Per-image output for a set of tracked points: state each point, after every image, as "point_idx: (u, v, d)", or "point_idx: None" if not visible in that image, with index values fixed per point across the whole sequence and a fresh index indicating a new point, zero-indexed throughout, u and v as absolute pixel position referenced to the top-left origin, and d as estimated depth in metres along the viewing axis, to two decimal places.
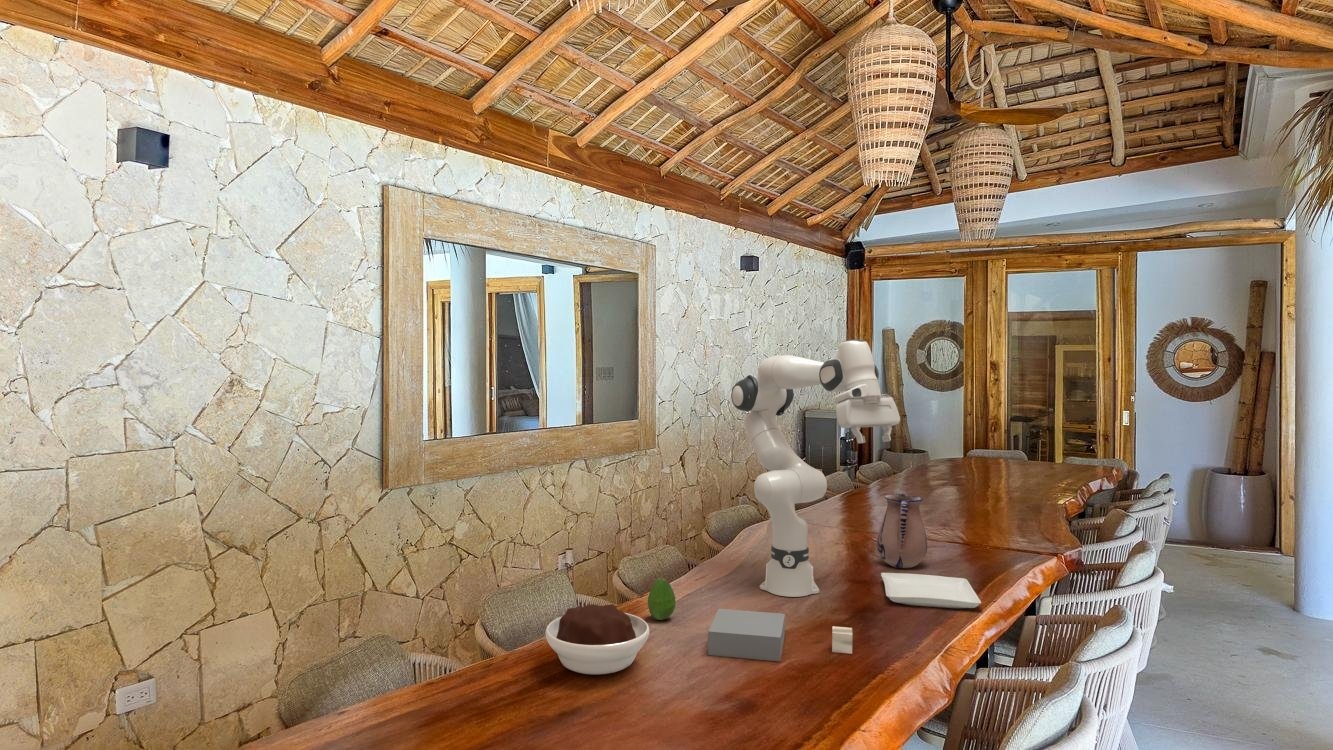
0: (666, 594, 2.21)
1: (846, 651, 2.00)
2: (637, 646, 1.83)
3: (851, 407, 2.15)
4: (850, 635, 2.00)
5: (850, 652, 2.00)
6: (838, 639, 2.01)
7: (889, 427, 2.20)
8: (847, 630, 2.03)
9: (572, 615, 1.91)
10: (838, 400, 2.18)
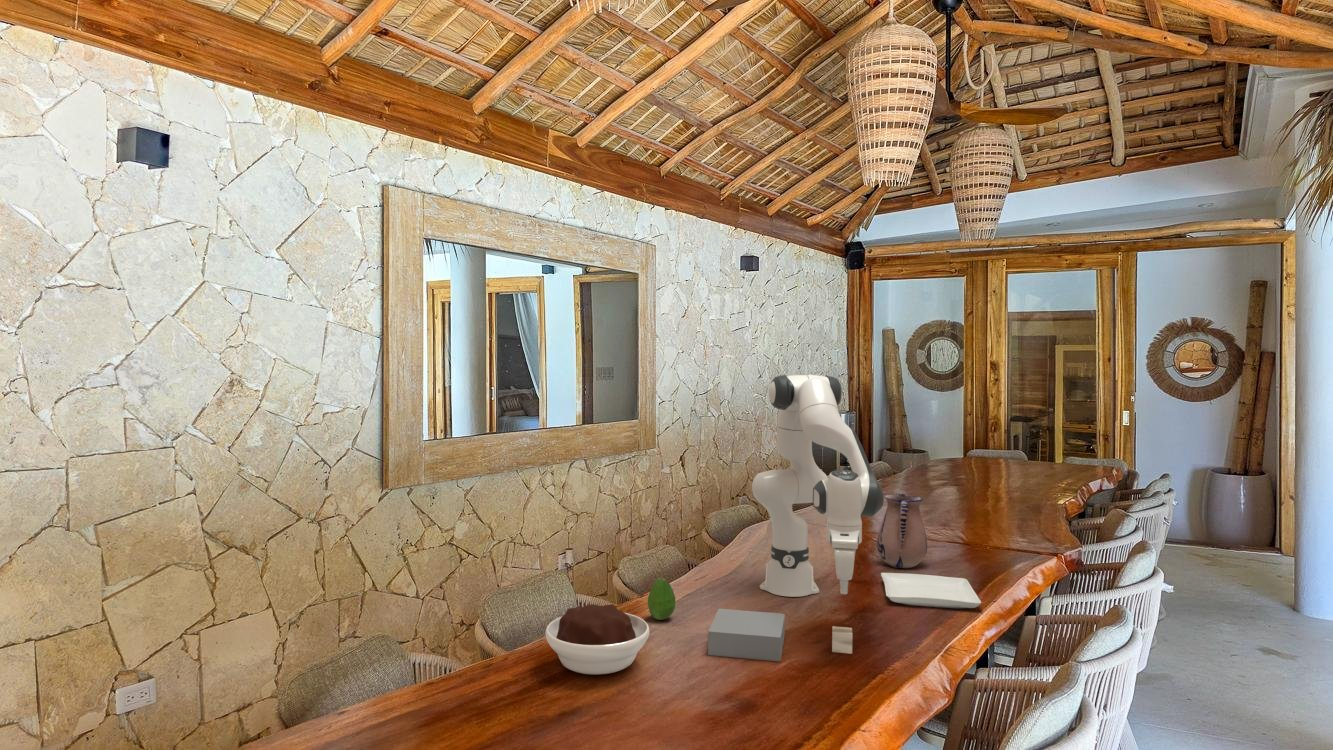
0: (666, 594, 2.21)
1: (846, 651, 2.00)
2: (637, 646, 1.83)
3: None
4: (850, 635, 2.00)
5: (850, 652, 2.00)
6: (838, 639, 2.01)
7: None
8: (847, 630, 2.03)
9: (572, 615, 1.91)
10: (838, 547, 1.94)
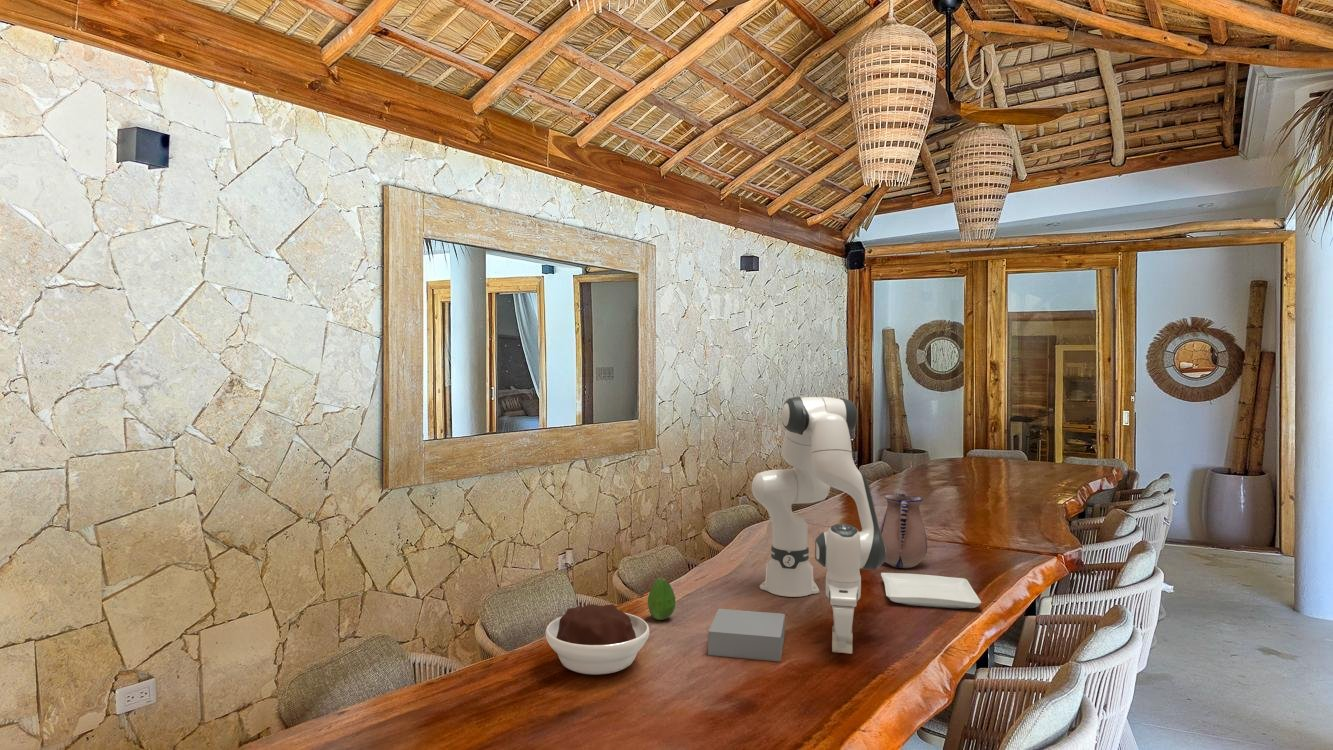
0: (666, 594, 2.21)
1: (846, 651, 2.00)
2: (637, 646, 1.83)
3: None
4: (850, 635, 2.00)
5: (850, 652, 2.00)
6: (838, 639, 2.01)
7: None
8: None
9: (572, 615, 1.91)
10: (837, 604, 1.95)
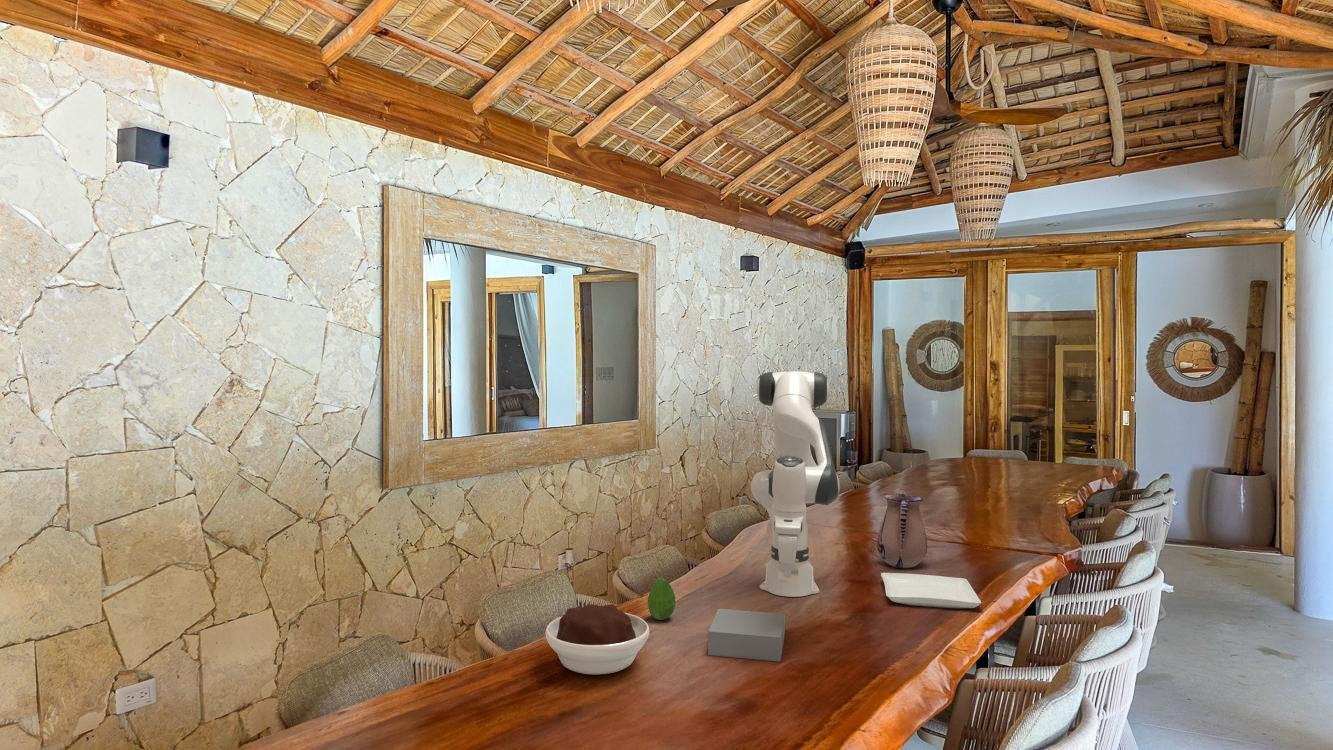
0: (666, 594, 2.21)
1: (792, 581, 2.01)
2: (637, 646, 1.83)
3: None
4: (796, 565, 2.01)
5: (796, 582, 2.01)
6: (783, 569, 2.01)
7: None
8: None
9: (572, 615, 1.91)
10: (781, 532, 1.95)
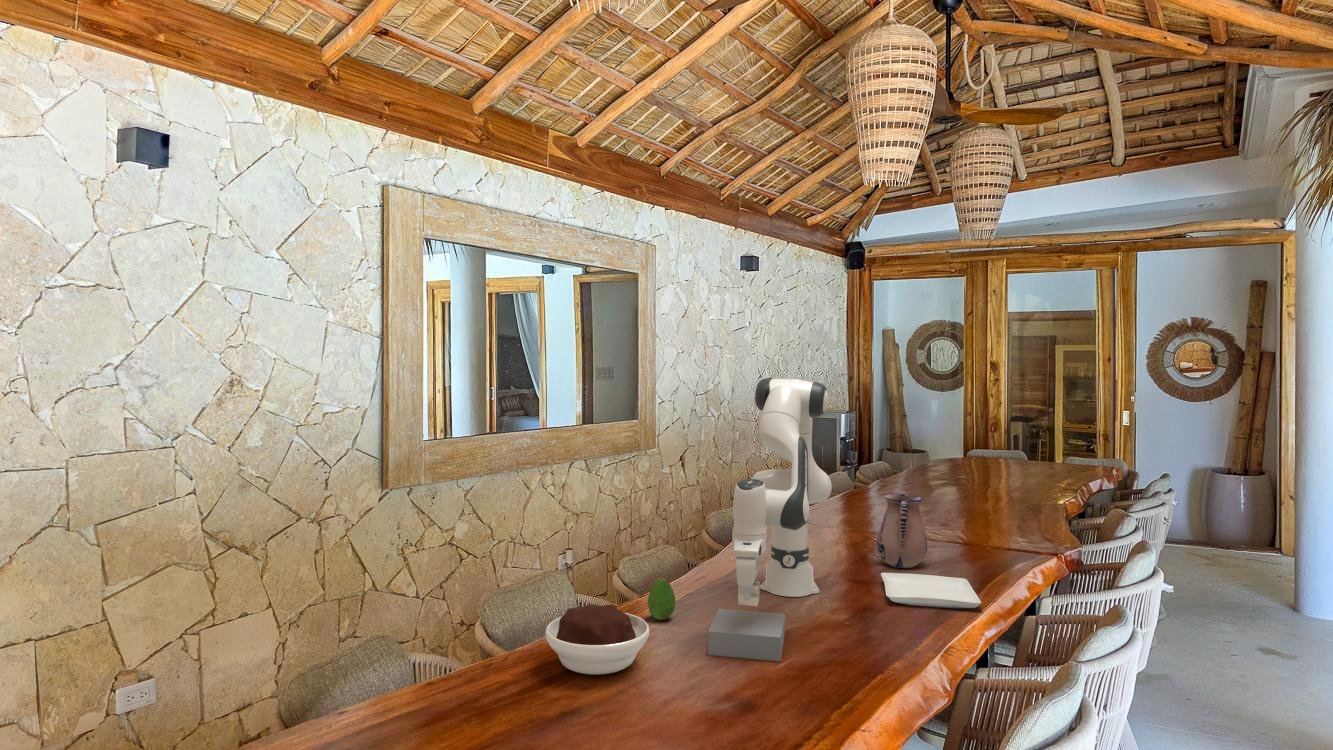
0: (666, 594, 2.21)
1: (752, 603, 2.02)
2: (637, 646, 1.83)
3: None
4: (755, 587, 2.02)
5: (755, 604, 2.02)
6: (743, 592, 2.02)
7: None
8: None
9: (572, 615, 1.91)
10: (740, 555, 1.96)
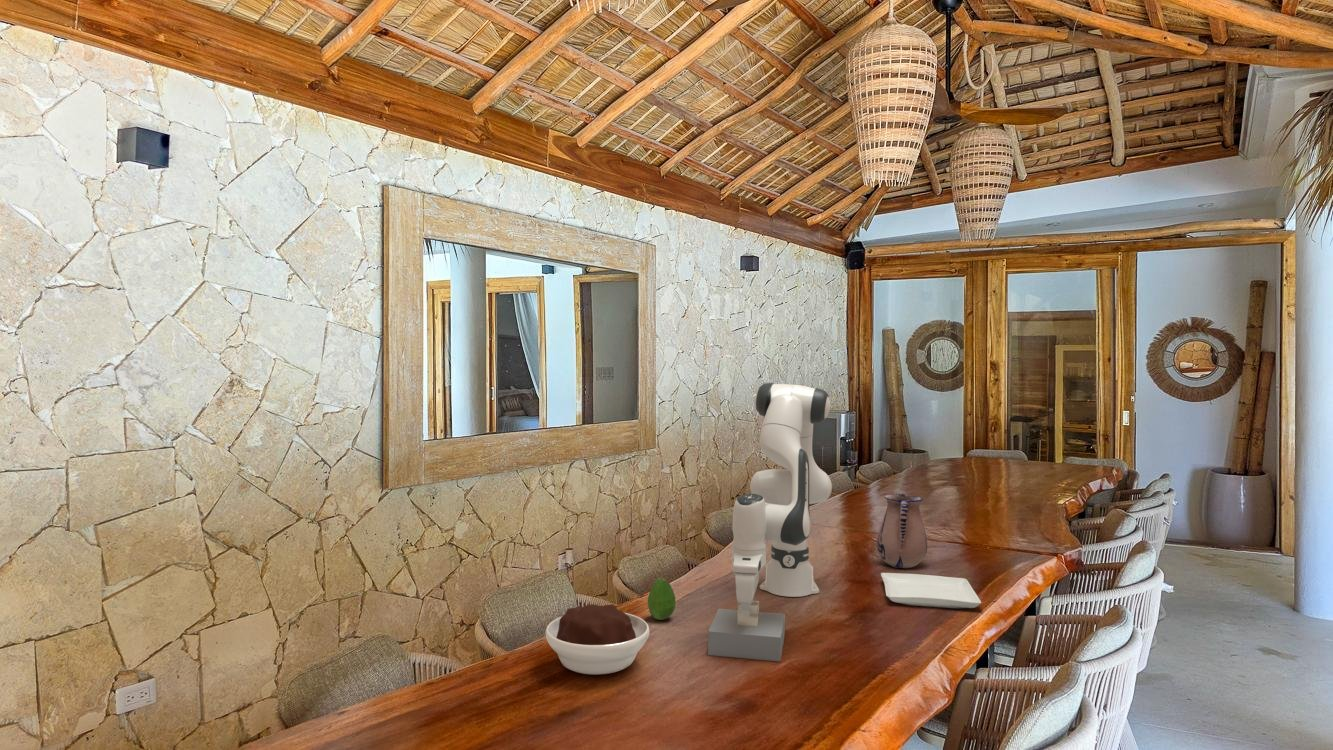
0: (666, 594, 2.21)
1: (751, 623, 2.02)
2: (637, 646, 1.83)
3: None
4: (755, 607, 2.02)
5: (755, 624, 2.02)
6: None
7: None
8: (753, 603, 2.05)
9: (572, 615, 1.91)
10: (739, 571, 1.96)
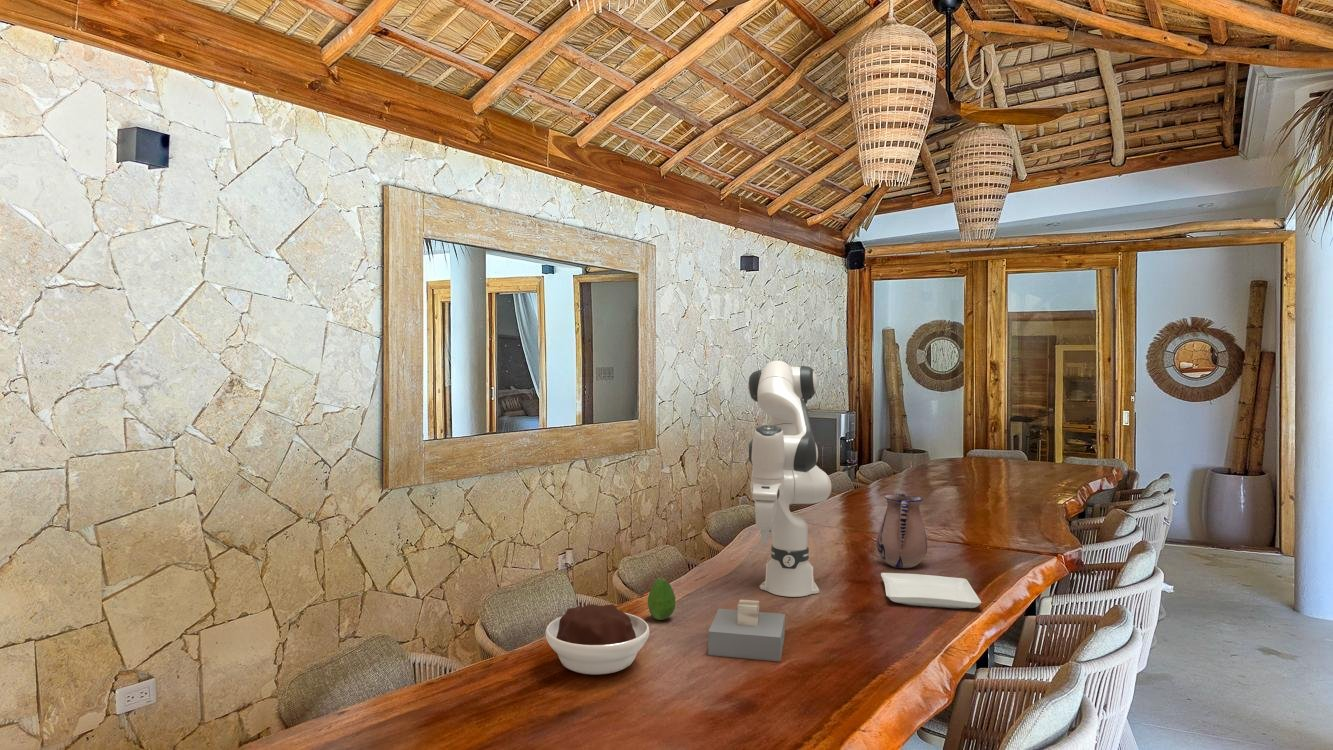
0: (666, 594, 2.21)
1: (751, 623, 2.02)
2: (637, 646, 1.83)
3: None
4: (755, 607, 2.02)
5: (755, 624, 2.02)
6: (743, 612, 2.03)
7: None
8: (753, 603, 2.05)
9: (572, 615, 1.91)
10: (758, 499, 2.02)
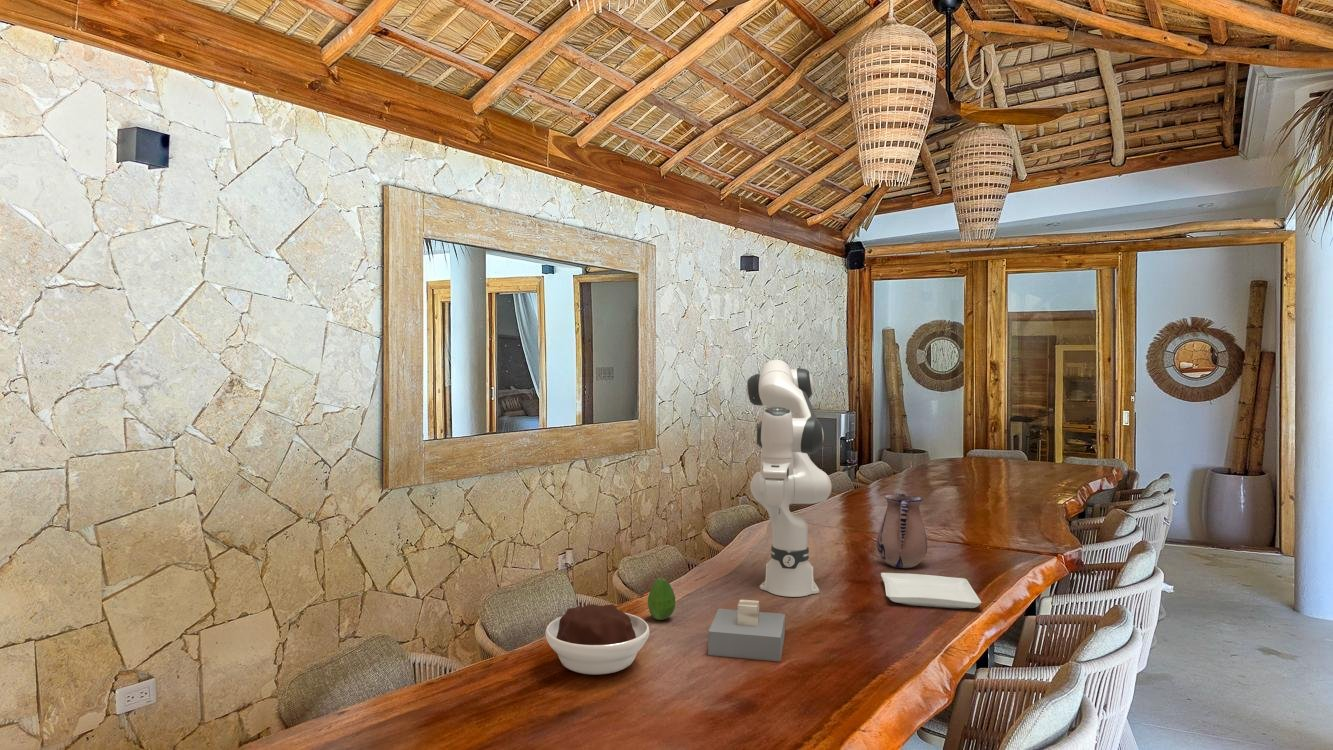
0: (666, 594, 2.21)
1: (751, 623, 2.02)
2: (637, 646, 1.83)
3: None
4: (755, 607, 2.02)
5: (755, 624, 2.02)
6: (743, 612, 2.03)
7: None
8: (753, 603, 2.05)
9: (572, 615, 1.91)
10: (768, 477, 2.06)
